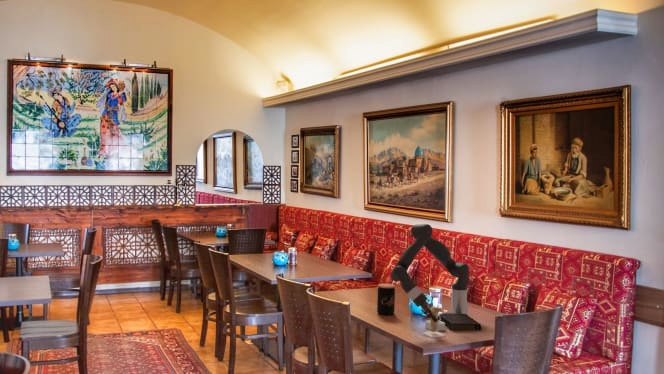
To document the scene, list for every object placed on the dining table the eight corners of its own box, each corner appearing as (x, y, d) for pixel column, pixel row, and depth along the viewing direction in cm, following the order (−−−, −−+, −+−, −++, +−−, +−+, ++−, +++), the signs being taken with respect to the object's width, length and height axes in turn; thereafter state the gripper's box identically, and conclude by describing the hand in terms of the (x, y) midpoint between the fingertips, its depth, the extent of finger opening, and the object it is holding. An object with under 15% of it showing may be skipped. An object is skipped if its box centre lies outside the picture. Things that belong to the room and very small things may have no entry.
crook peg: (429, 331, 377) (430, 307, 377) (431, 329, 381) (432, 306, 380) (441, 333, 374) (442, 309, 374) (443, 331, 378) (444, 308, 377)
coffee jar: (380, 316, 421) (381, 286, 420) (374, 312, 431) (375, 283, 430) (396, 315, 423) (397, 286, 423) (390, 311, 434) (391, 283, 433)
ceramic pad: (436, 332, 384) (436, 331, 384) (445, 336, 376) (445, 335, 376) (422, 333, 381) (422, 332, 381) (431, 337, 372) (431, 336, 372)
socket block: (437, 326, 398) (437, 319, 397) (444, 330, 390) (445, 323, 390) (425, 327, 394) (425, 320, 394) (432, 331, 387) (432, 324, 387)
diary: (466, 321, 416) (467, 313, 416) (481, 332, 391) (481, 323, 391) (436, 321, 413) (437, 312, 413) (449, 331, 388) (450, 323, 388)
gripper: (418, 294, 374) (439, 319, 369) (425, 290, 387) (446, 314, 382) (408, 302, 376) (429, 327, 372) (416, 298, 389) (436, 322, 385)
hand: (437, 320), depth 377 cm, fingers closed on crook peg, 3 cm apart
